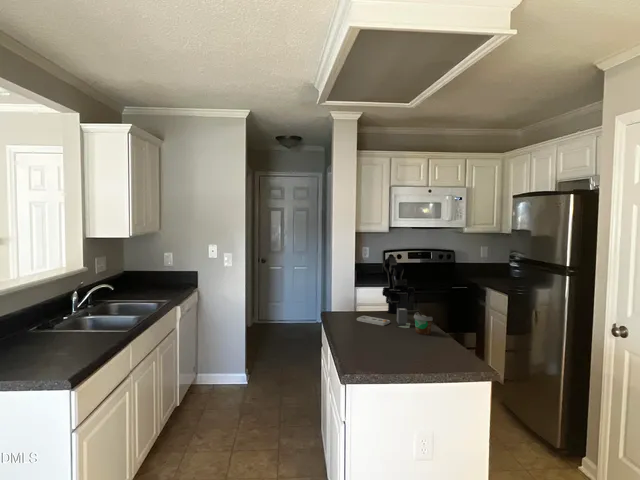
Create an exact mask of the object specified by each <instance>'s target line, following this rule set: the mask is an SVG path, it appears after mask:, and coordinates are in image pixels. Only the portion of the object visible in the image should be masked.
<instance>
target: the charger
mask: <svg viewBox="0 0 640 480" xmlns="http://www.w3.org/2000/svg"><path fill="white" fill-rule="evenodd" d="M396 322H397V324H398V325H399V326H406V323H408V309H407V308H406V307H404V308H399V307H397V314H396Z"/></svg>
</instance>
